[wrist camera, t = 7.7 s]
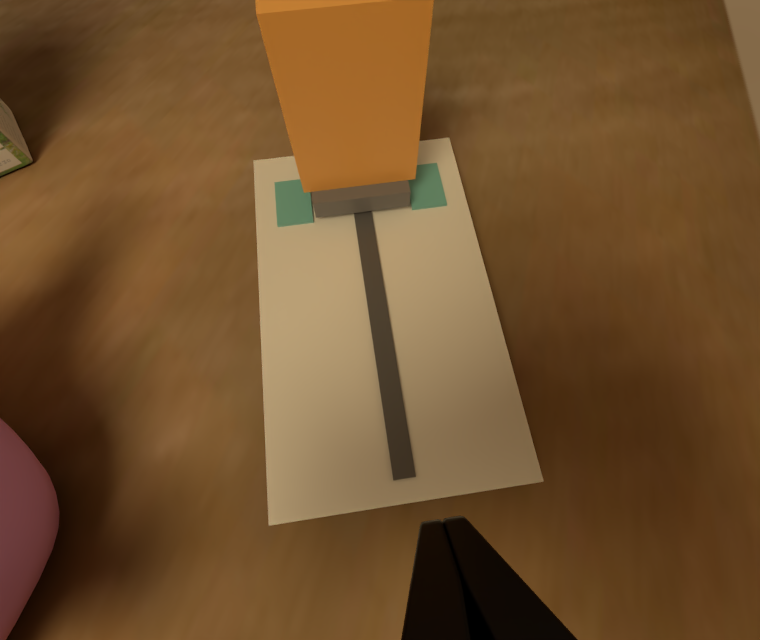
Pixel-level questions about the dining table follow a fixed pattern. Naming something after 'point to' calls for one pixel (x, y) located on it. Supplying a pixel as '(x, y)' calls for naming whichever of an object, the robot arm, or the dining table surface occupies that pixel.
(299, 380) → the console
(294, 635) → the dining table surface
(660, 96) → the dining table surface
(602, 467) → the dining table surface
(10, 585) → the teapot
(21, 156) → the syrup box
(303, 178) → the fader
